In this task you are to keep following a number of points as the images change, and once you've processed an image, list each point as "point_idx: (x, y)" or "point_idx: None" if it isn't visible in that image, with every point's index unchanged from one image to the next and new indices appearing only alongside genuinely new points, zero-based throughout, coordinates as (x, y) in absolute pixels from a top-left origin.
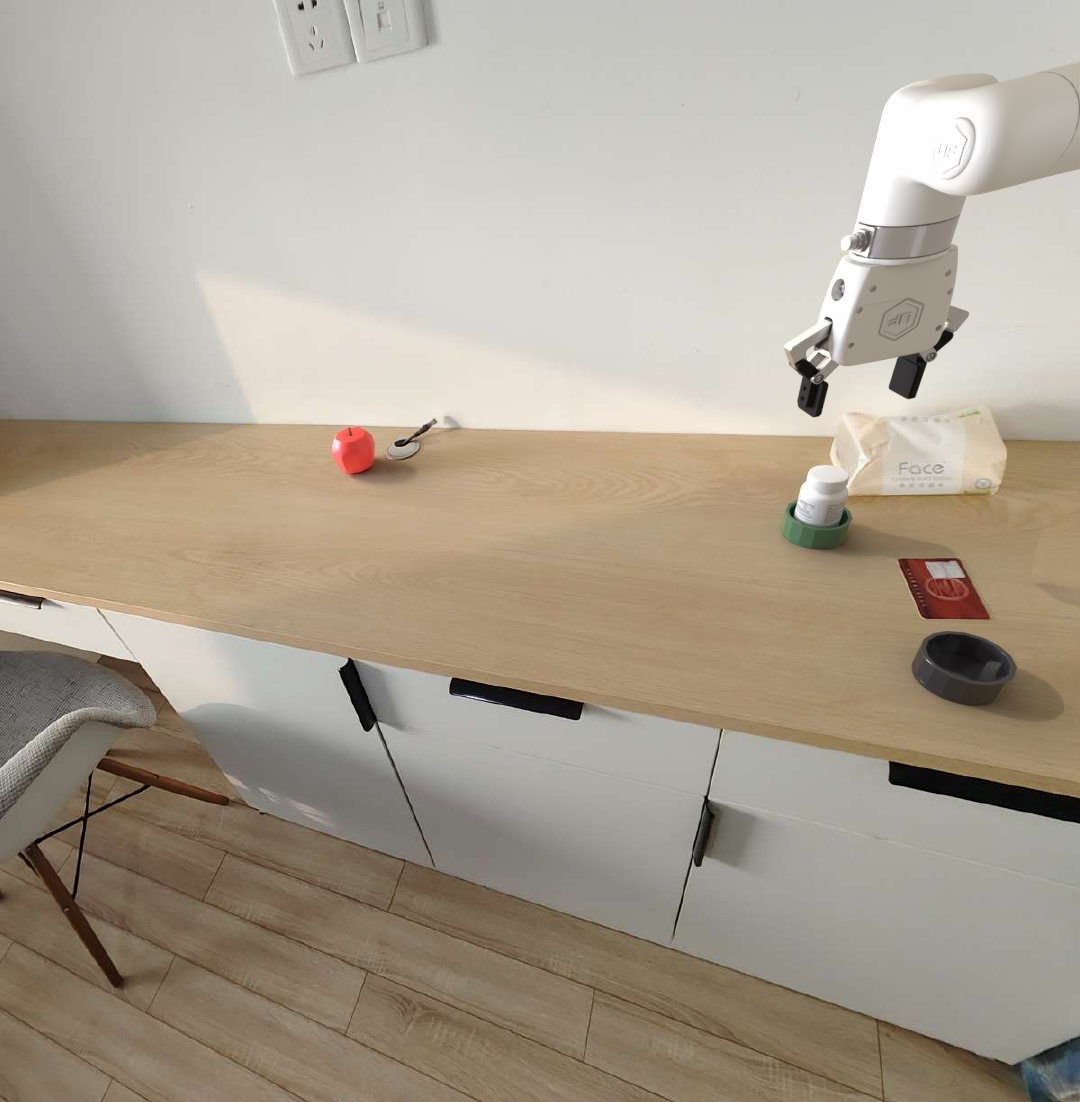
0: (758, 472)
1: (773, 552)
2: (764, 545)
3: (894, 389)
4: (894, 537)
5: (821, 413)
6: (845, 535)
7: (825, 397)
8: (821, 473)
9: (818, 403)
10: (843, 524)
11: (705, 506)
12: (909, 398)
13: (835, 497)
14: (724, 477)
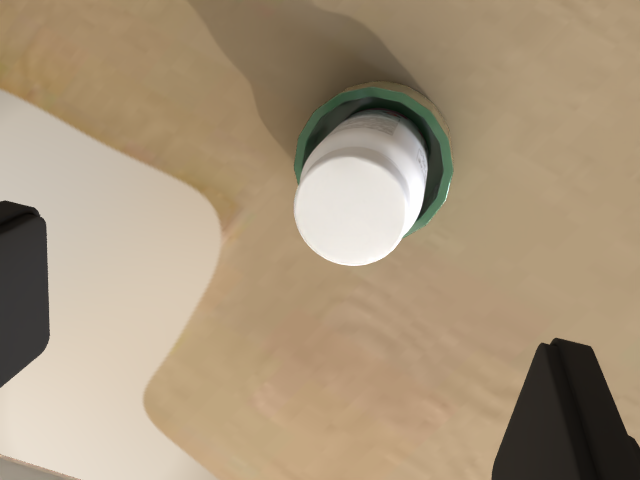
0: (309, 394)
1: (521, 132)
2: (517, 166)
3: (39, 314)
4: (236, 51)
5: (547, 344)
6: (347, 88)
7: (569, 423)
8: (367, 225)
9: (614, 406)
10: (354, 98)
11: (512, 360)
12: (33, 211)
13: (372, 139)
14: (386, 420)
